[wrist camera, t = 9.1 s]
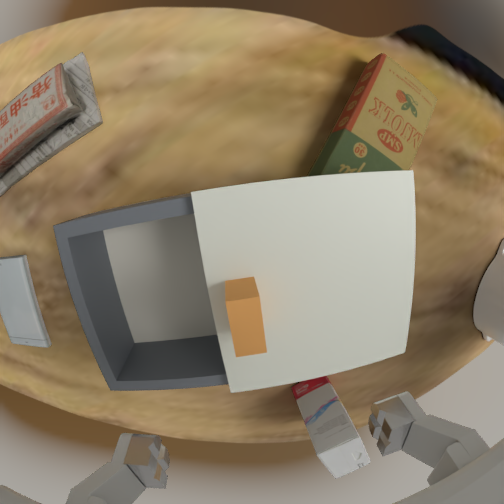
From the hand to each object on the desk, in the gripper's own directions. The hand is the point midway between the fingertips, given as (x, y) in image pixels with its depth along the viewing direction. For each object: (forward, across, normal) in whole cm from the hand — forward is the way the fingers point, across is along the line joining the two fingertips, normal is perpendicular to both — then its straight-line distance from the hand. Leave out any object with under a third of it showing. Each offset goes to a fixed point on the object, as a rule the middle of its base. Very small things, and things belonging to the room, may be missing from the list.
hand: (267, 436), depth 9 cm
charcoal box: (+21, -6, 0) cm, 22 cm away
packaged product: (+21, -22, +20) cm, 36 cm away
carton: (+22, +15, +12) cm, 29 cm away
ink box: (+21, +8, -20) cm, 30 cm away
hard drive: (+21, -30, 0) cm, 37 cm away
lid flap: (+13, +6, 0) cm, 14 cm away
